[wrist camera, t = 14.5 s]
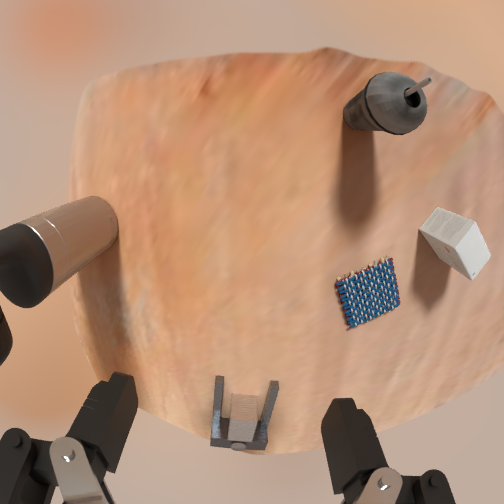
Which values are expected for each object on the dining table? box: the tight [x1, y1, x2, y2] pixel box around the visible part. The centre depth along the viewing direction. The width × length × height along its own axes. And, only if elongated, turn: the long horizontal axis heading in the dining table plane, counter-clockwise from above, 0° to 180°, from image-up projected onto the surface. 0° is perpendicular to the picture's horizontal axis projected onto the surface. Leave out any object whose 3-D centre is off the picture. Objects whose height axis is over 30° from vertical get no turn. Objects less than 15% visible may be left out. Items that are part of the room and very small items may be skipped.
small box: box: [419, 207, 491, 281], centre depth 35 cm, size 8×6×10 cm
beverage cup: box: [343, 72, 432, 135], centre depth 25 cm, size 7×7×20 cm
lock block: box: [228, 394, 257, 442], centre depth 49 cm, size 5×8×7 cm, turn 173°
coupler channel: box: [210, 376, 279, 451], centre depth 49 cm, size 12×18×7 cm, turn 173°
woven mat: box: [335, 255, 400, 328], centre depth 43 cm, size 10×11×2 cm
